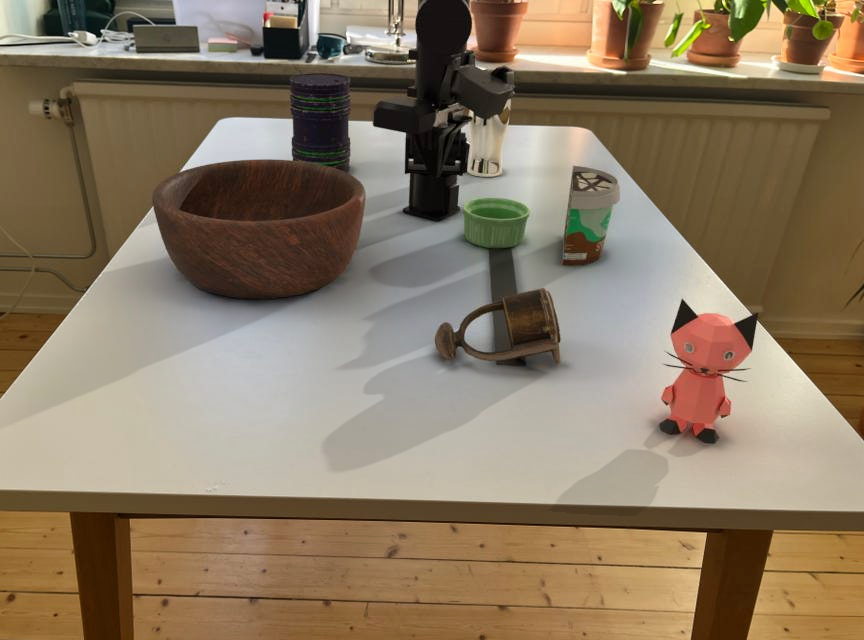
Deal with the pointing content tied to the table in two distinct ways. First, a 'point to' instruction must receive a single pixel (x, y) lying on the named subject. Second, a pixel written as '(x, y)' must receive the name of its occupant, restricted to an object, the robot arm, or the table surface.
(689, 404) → the cat figurine
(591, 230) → the food container
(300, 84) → the storage jar
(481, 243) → the ramekin
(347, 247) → the wooden bowl
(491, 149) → the beer glass
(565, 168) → the table surface
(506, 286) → the dark grey flat bar
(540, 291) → the bronze metal cylindrical vessel
